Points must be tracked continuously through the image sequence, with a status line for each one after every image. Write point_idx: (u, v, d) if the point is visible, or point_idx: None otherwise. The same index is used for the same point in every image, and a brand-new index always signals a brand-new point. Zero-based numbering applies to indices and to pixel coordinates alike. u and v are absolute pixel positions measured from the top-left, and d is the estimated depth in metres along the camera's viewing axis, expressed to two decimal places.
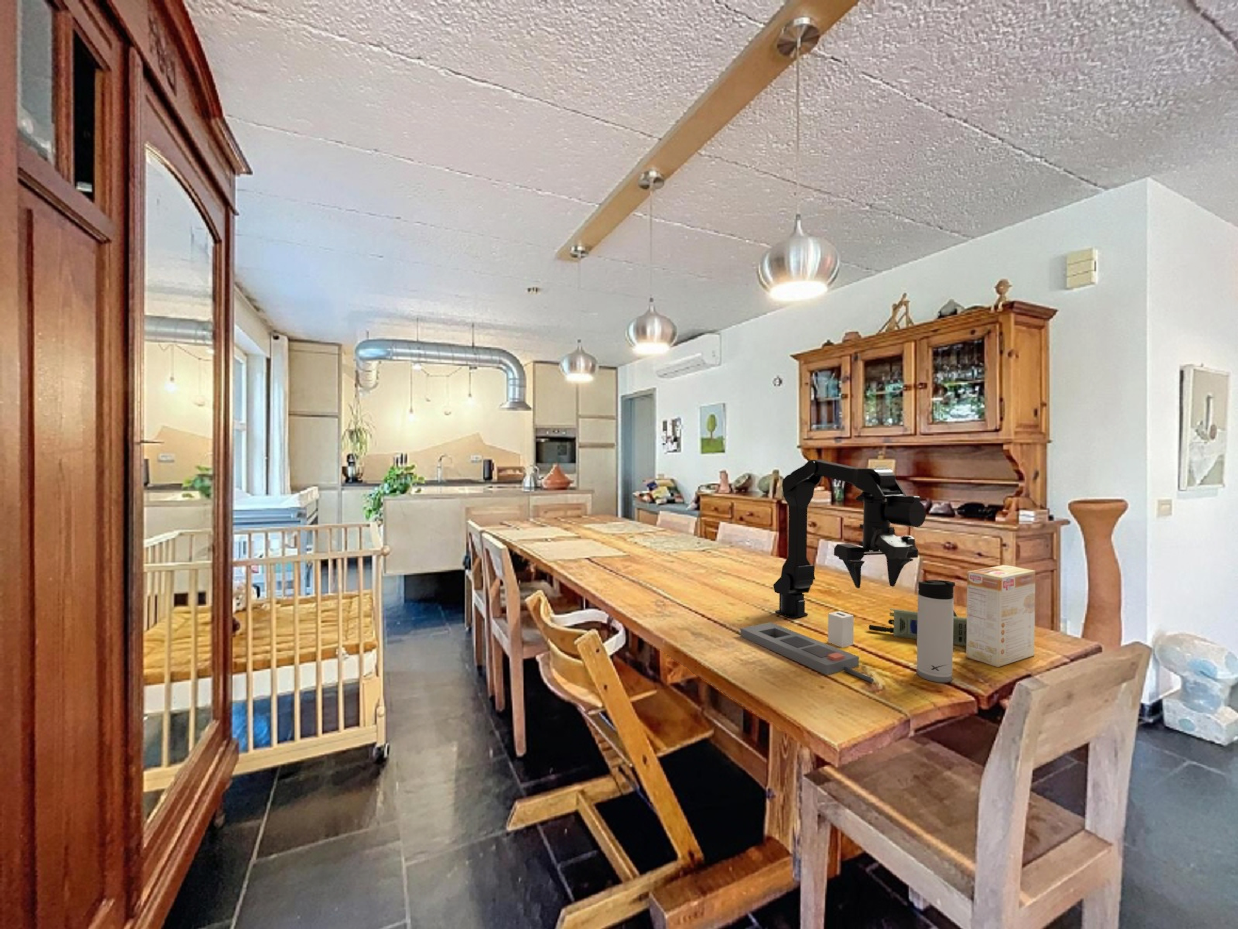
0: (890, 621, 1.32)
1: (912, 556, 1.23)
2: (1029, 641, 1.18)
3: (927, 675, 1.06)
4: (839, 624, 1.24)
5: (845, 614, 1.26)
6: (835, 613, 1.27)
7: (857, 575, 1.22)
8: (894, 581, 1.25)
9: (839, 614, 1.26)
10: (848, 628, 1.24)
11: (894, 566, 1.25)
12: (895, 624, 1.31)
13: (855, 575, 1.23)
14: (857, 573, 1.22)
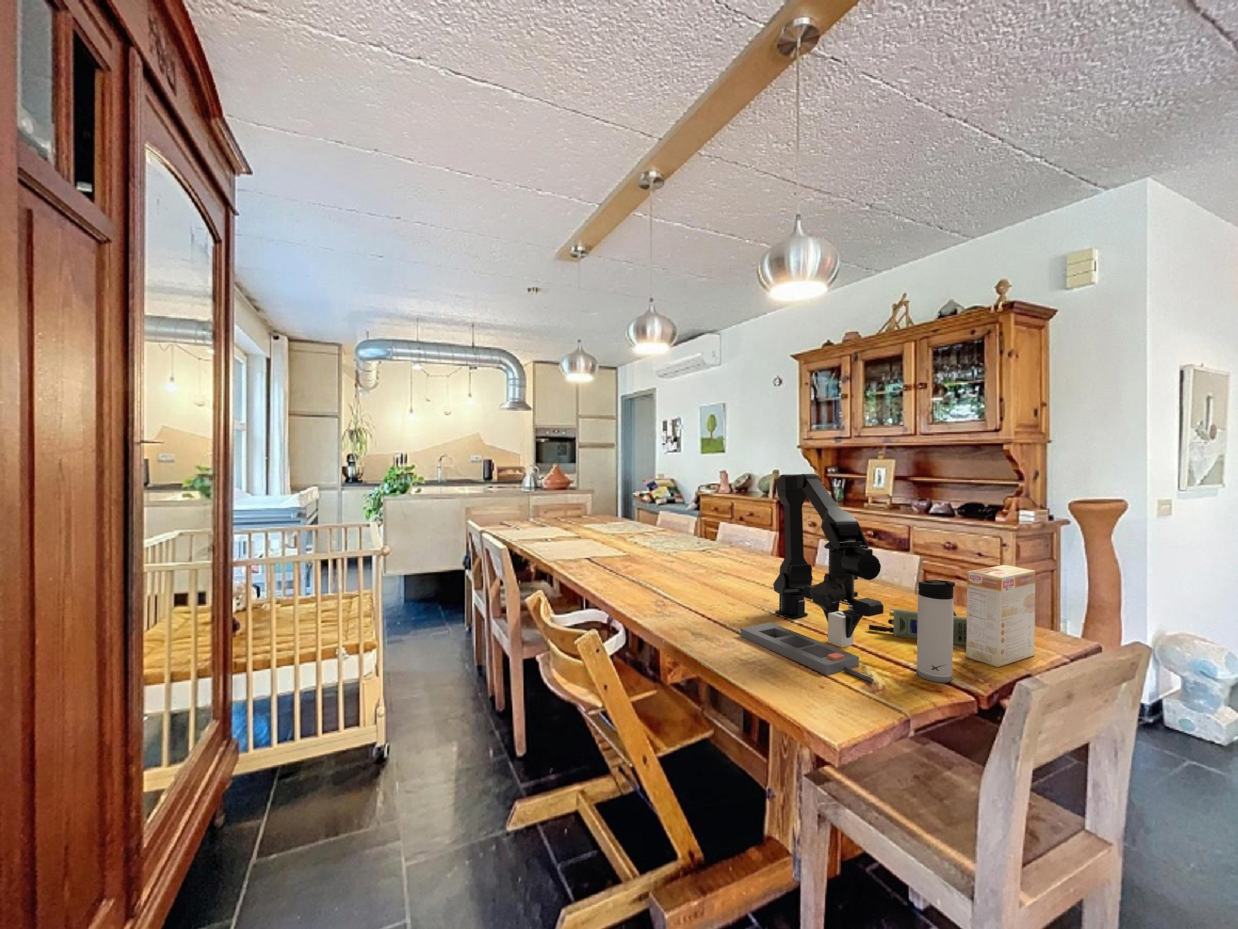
0: (890, 621, 1.33)
1: (859, 613, 1.18)
2: (1029, 641, 1.18)
3: (927, 675, 1.06)
4: (839, 624, 1.24)
5: None
6: (835, 613, 1.27)
7: (826, 618, 1.28)
8: (846, 632, 1.24)
9: (839, 614, 1.26)
10: None
11: None
12: (895, 624, 1.31)
13: None
14: (826, 616, 1.28)
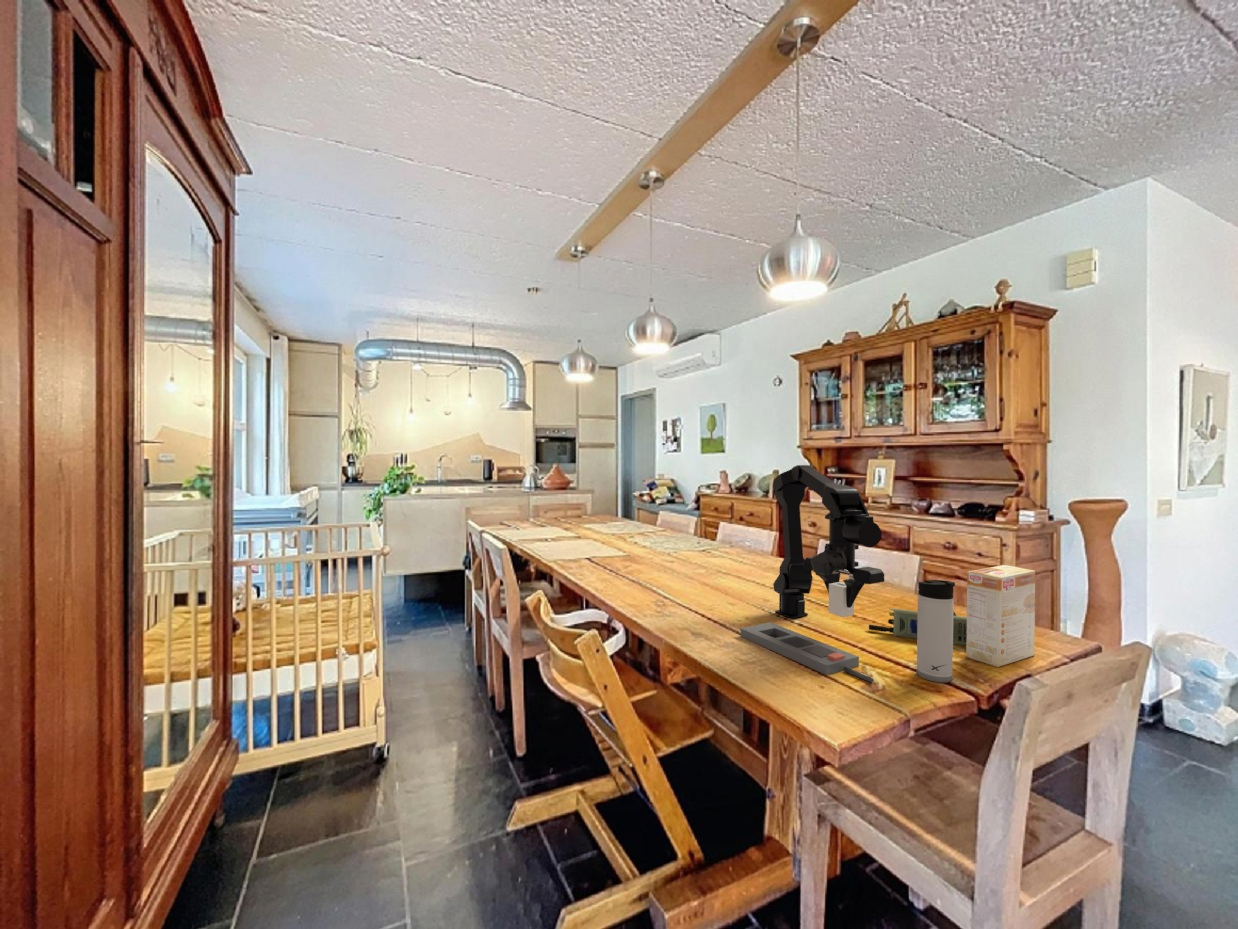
0: (890, 621, 1.33)
1: (860, 581, 1.18)
2: (1029, 641, 1.18)
3: (927, 675, 1.06)
4: (840, 594, 1.24)
5: None
6: (836, 583, 1.27)
7: (827, 589, 1.28)
8: (847, 602, 1.24)
9: (840, 584, 1.26)
10: None
11: None
12: (895, 624, 1.32)
13: None
14: (826, 587, 1.28)
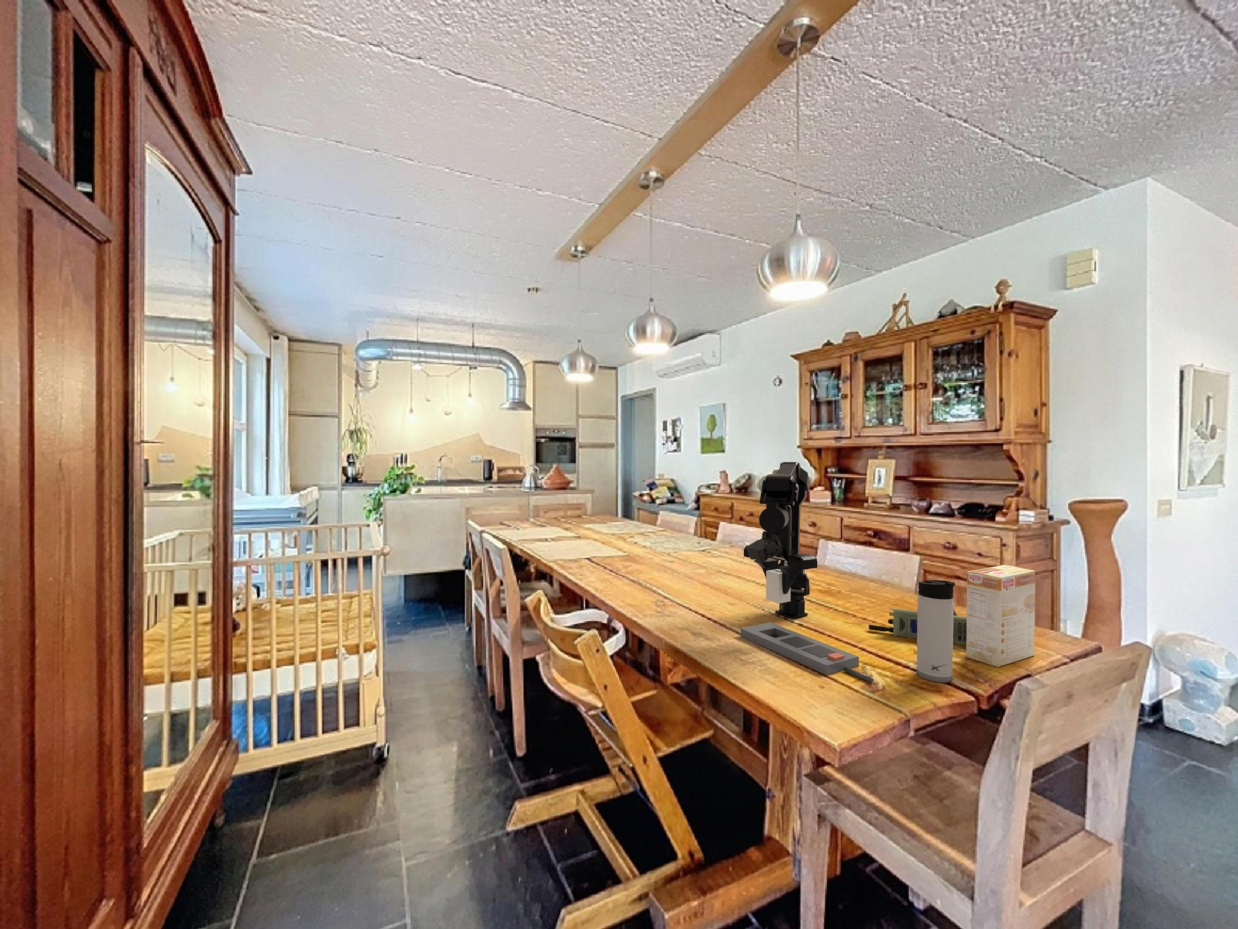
0: (890, 621, 1.33)
1: (793, 567, 1.19)
2: (1029, 641, 1.18)
3: (927, 675, 1.06)
4: (776, 580, 1.25)
5: None
6: (773, 570, 1.28)
7: (765, 576, 1.29)
8: (783, 588, 1.25)
9: (777, 571, 1.27)
10: None
11: None
12: (895, 624, 1.32)
13: None
14: (765, 574, 1.29)
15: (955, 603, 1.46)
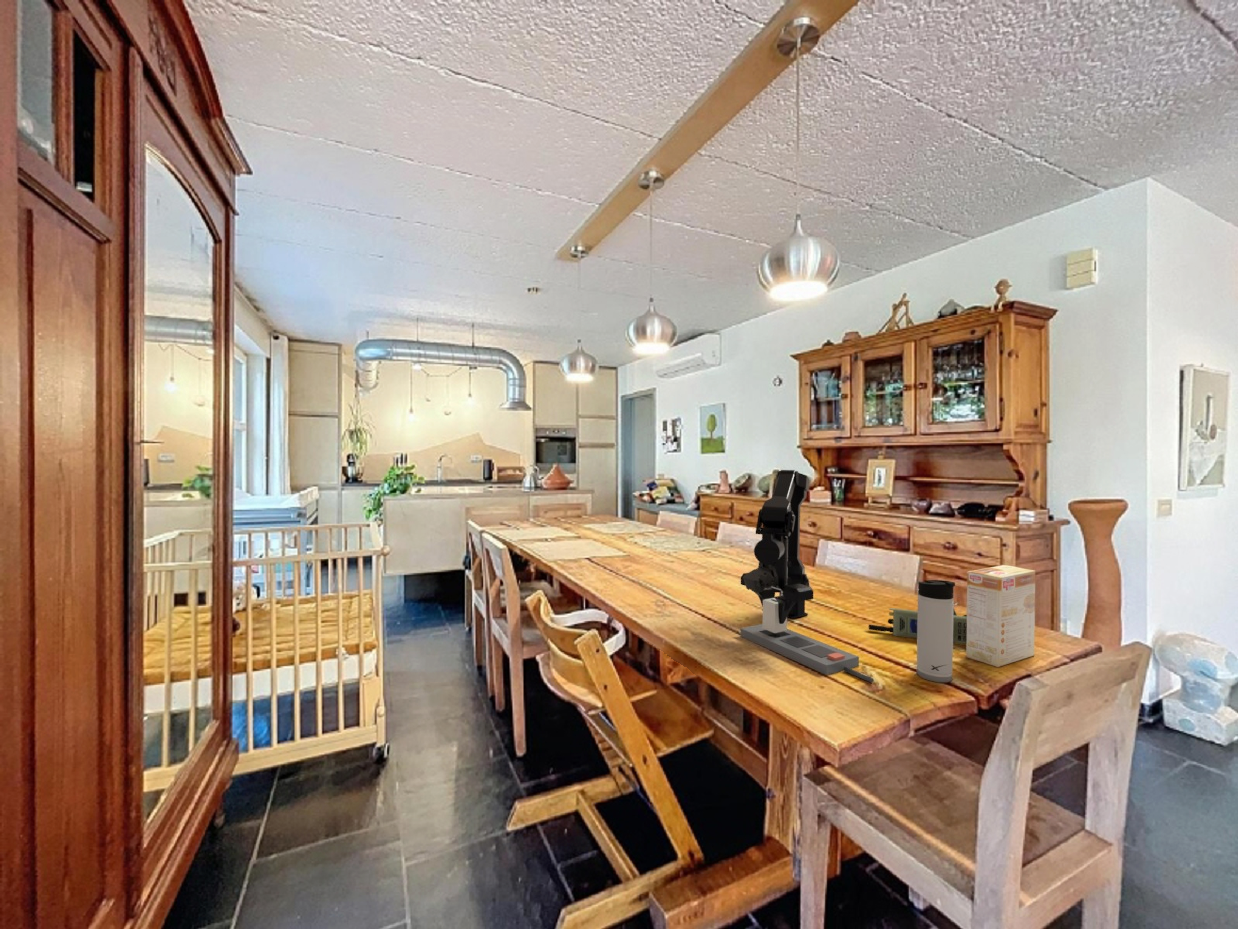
0: (890, 620, 1.33)
1: (789, 598, 1.19)
2: (1029, 641, 1.18)
3: (927, 675, 1.06)
4: (772, 610, 1.25)
5: None
6: (770, 599, 1.28)
7: (762, 605, 1.30)
8: (779, 618, 1.25)
9: (773, 600, 1.27)
10: None
11: None
12: (895, 623, 1.32)
13: None
14: (761, 602, 1.30)
15: (957, 603, 1.45)
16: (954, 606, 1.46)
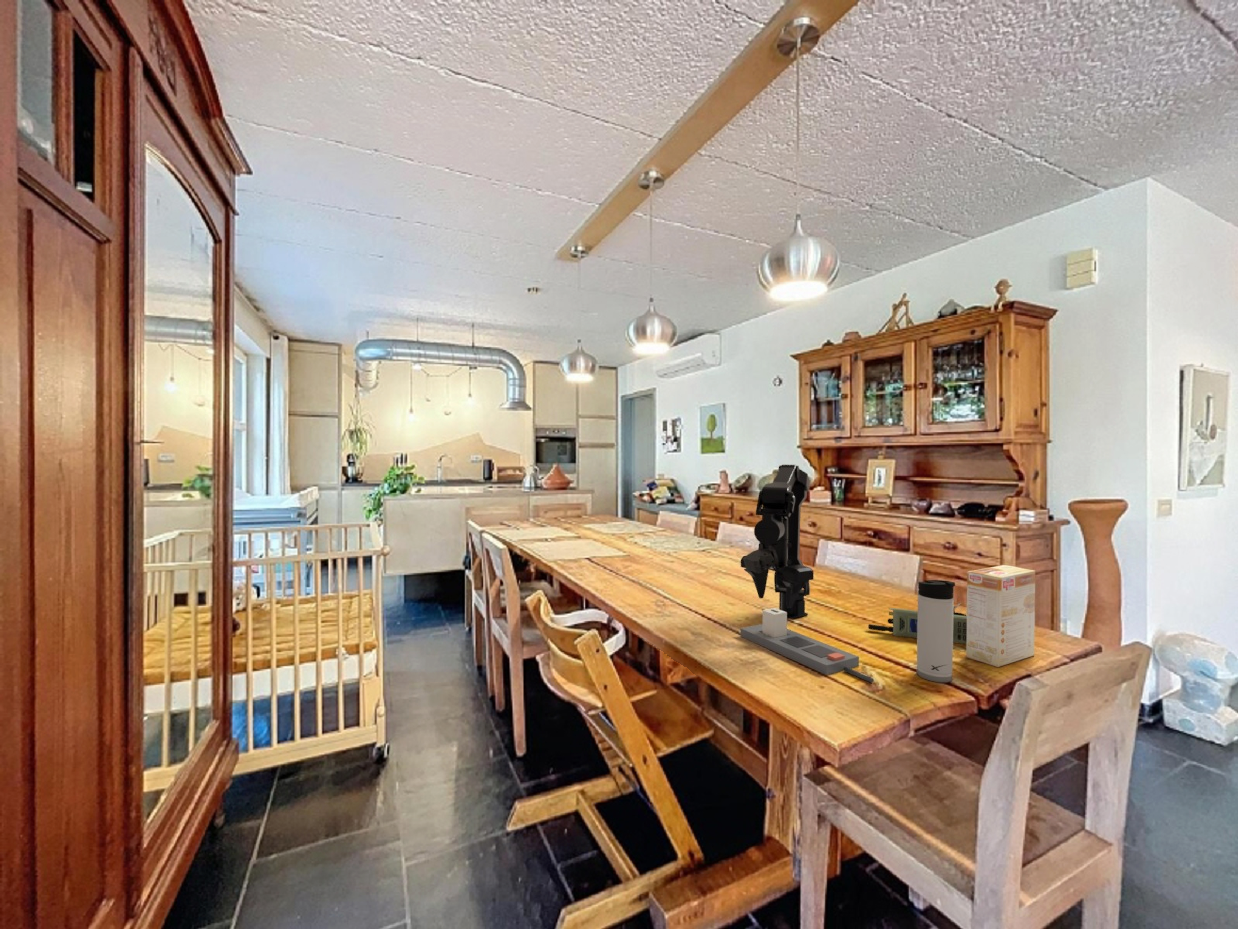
0: (889, 620, 1.33)
1: (789, 578, 1.19)
2: (1029, 641, 1.18)
3: (927, 675, 1.06)
4: (772, 621, 1.25)
5: (779, 611, 1.27)
6: (769, 610, 1.28)
7: (755, 584, 1.31)
8: (787, 602, 1.23)
9: (773, 611, 1.27)
10: (781, 625, 1.26)
11: None
12: (895, 623, 1.32)
13: None
14: (754, 582, 1.31)
15: (959, 603, 1.45)
16: (957, 606, 1.46)
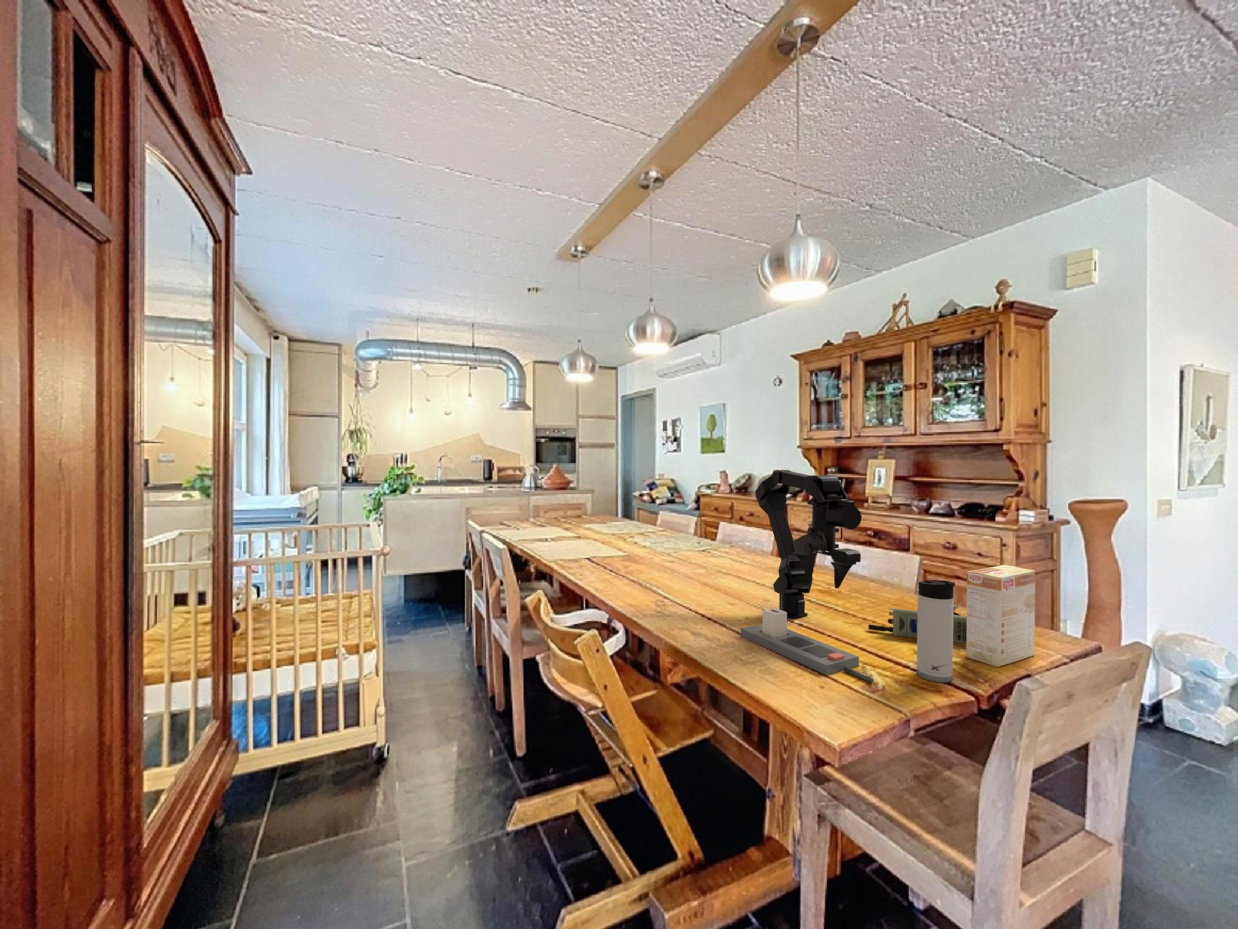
0: (889, 620, 1.33)
1: (837, 560, 1.28)
2: (1029, 641, 1.18)
3: (927, 675, 1.06)
4: (772, 621, 1.25)
5: (779, 611, 1.27)
6: (769, 610, 1.28)
7: (803, 567, 1.40)
8: (834, 583, 1.31)
9: (773, 611, 1.27)
10: (781, 625, 1.26)
11: None
12: (895, 623, 1.32)
13: None
14: (803, 565, 1.40)
15: (959, 604, 1.44)
16: None
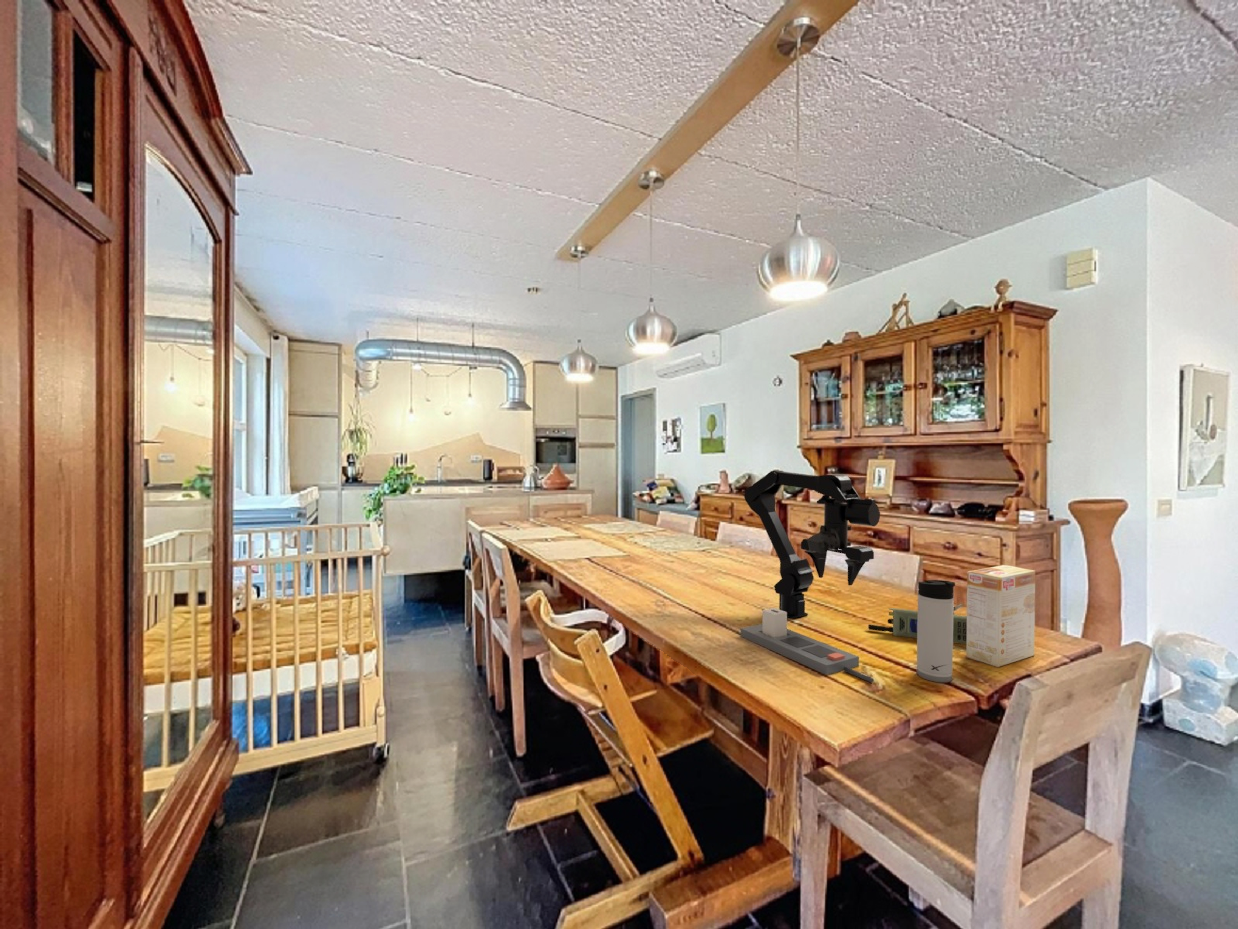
0: (889, 620, 1.33)
1: (851, 558, 1.30)
2: (1029, 641, 1.18)
3: (927, 675, 1.06)
4: (772, 621, 1.25)
5: (779, 611, 1.27)
6: (769, 610, 1.28)
7: (815, 565, 1.42)
8: (848, 580, 1.34)
9: (773, 611, 1.27)
10: (781, 625, 1.26)
11: None
12: (895, 623, 1.32)
13: None
14: (814, 563, 1.42)
15: (960, 604, 1.44)
16: (958, 607, 1.45)
